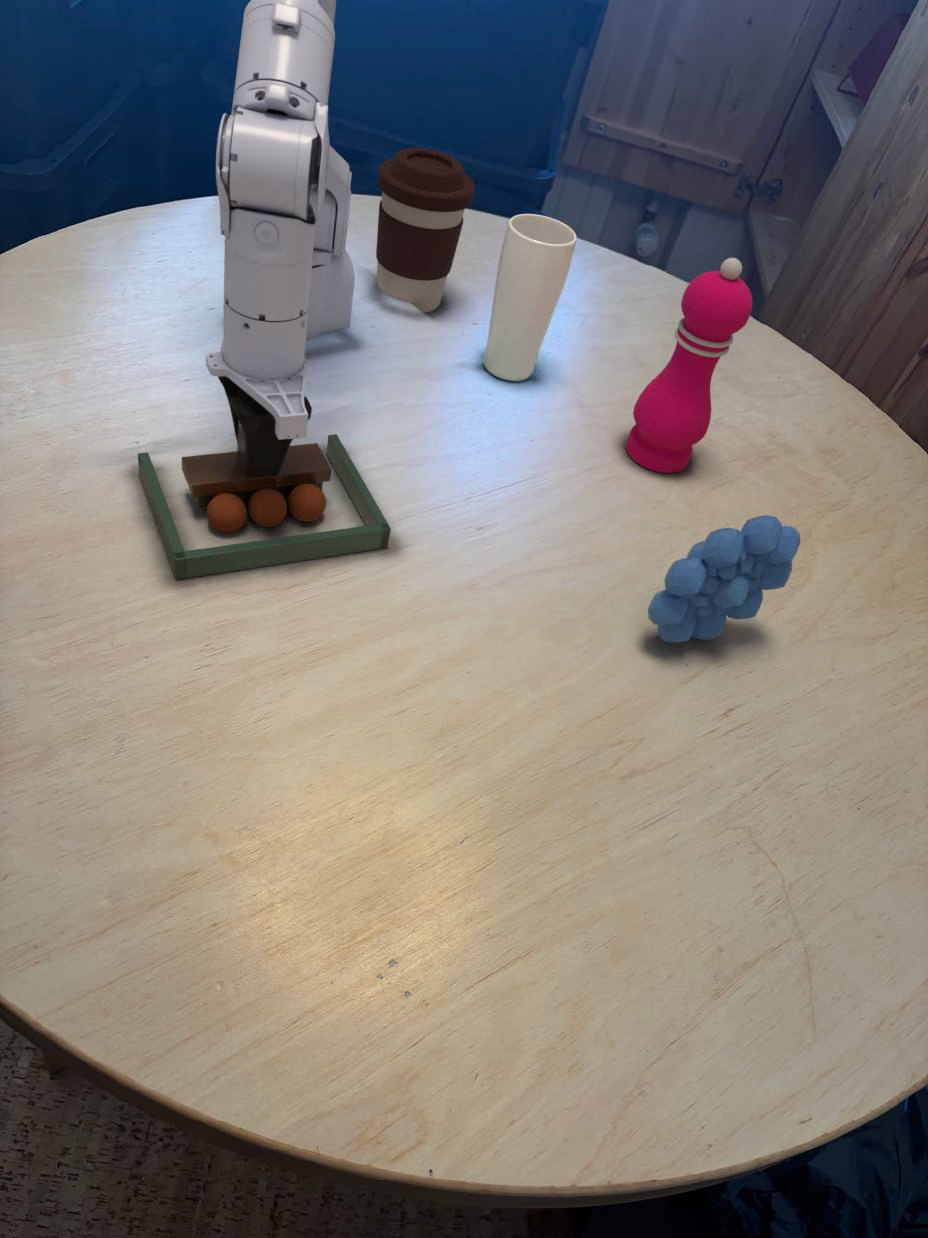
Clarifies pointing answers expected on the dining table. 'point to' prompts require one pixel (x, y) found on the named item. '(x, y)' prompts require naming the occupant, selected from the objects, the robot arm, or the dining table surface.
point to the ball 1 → (226, 512)
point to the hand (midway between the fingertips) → (258, 461)
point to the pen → (278, 548)
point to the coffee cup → (419, 224)
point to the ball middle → (267, 507)
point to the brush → (235, 478)
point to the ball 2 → (306, 502)
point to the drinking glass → (526, 292)
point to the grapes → (723, 579)
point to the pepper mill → (689, 371)
